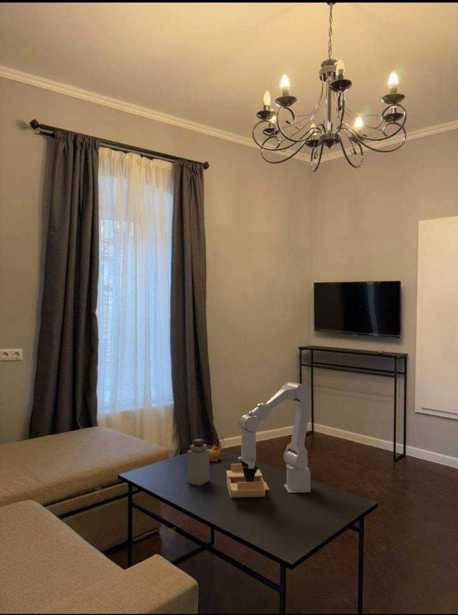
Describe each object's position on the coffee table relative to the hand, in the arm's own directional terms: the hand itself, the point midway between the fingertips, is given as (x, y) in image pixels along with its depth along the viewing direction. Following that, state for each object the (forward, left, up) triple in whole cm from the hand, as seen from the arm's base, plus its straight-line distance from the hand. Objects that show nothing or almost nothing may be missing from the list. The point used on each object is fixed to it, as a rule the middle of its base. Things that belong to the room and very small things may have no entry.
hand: (248, 480), depth 172 cm
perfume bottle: (+19, -20, -7) cm, 28 cm away
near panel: (0, +2, -2) cm, 3 cm away
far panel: (0, -13, -2) cm, 13 cm away
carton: (0, -9, -7) cm, 11 cm away
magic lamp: (+12, -48, -7) cm, 50 cm away
